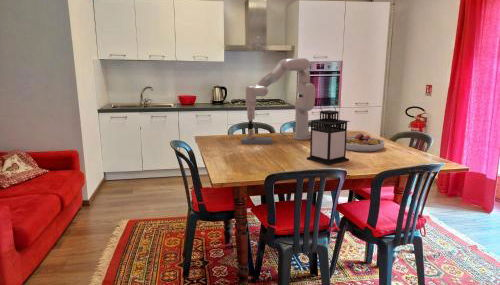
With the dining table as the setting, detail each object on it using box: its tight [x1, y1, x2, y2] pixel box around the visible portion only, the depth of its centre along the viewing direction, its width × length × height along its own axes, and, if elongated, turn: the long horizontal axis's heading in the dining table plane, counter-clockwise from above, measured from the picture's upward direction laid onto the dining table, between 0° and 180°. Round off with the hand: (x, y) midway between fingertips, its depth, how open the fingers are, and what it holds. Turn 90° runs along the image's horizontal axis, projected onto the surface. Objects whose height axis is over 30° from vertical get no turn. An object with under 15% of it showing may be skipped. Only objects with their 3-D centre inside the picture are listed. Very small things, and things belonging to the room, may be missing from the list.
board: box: [240, 136, 273, 145], centre depth 266 cm, size 22×11×3 cm, turn 88°
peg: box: [247, 128, 255, 139], centre depth 265 cm, size 4×4×10 cm
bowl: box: [346, 133, 385, 153], centre depth 247 cm, size 30×30×8 cm
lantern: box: [306, 100, 351, 166], centre depth 212 cm, size 17×17×35 cm
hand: (250, 128), depth 264 cm, fingers closed
